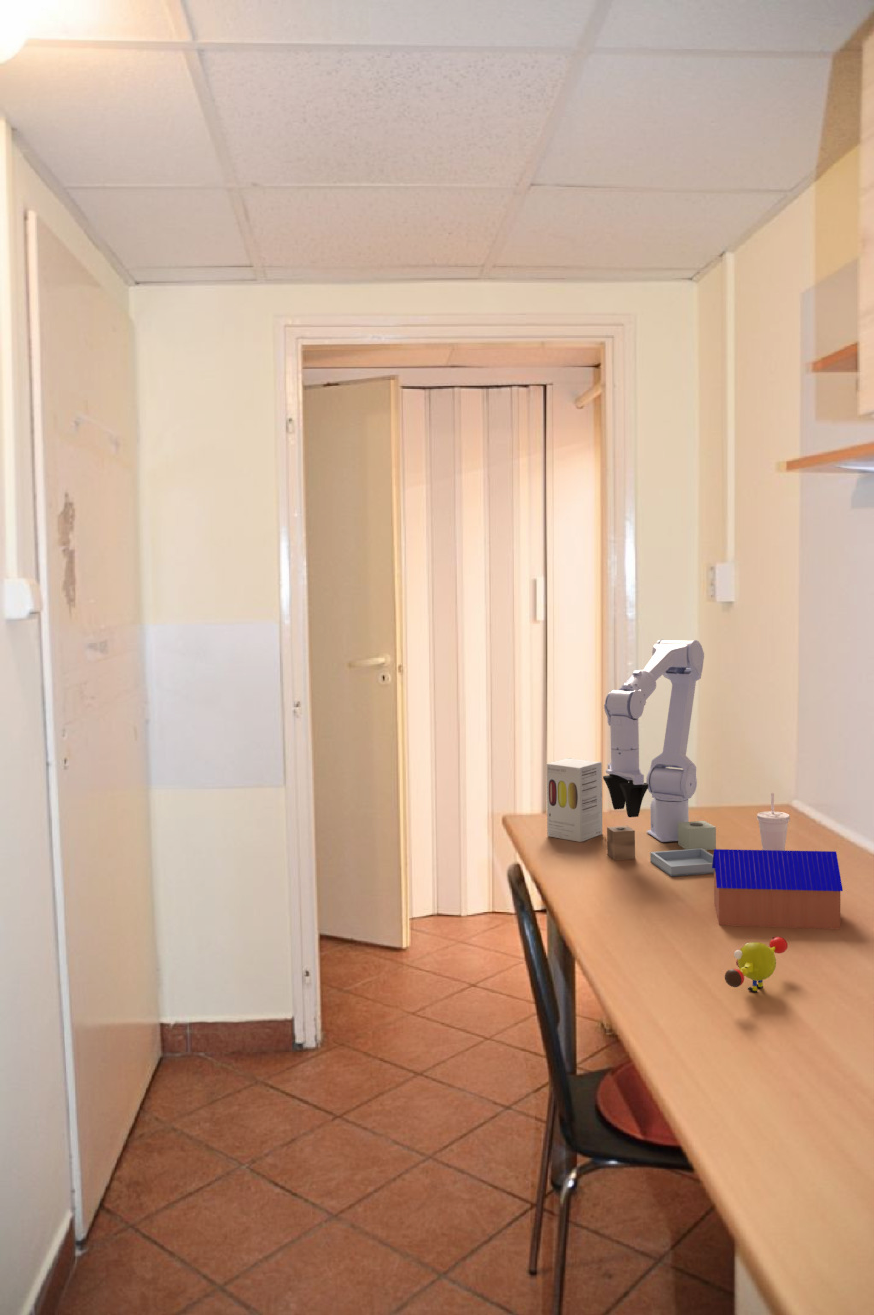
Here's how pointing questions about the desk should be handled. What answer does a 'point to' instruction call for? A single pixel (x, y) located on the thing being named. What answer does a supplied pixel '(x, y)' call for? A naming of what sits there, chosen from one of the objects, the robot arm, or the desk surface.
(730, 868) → the house
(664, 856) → the tray
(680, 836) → the oversize block
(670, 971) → the desk surface
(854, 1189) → the desk surface
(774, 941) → the toy figure
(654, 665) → the robot arm
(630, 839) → the block
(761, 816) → the smoothie
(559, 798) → the supplement box
